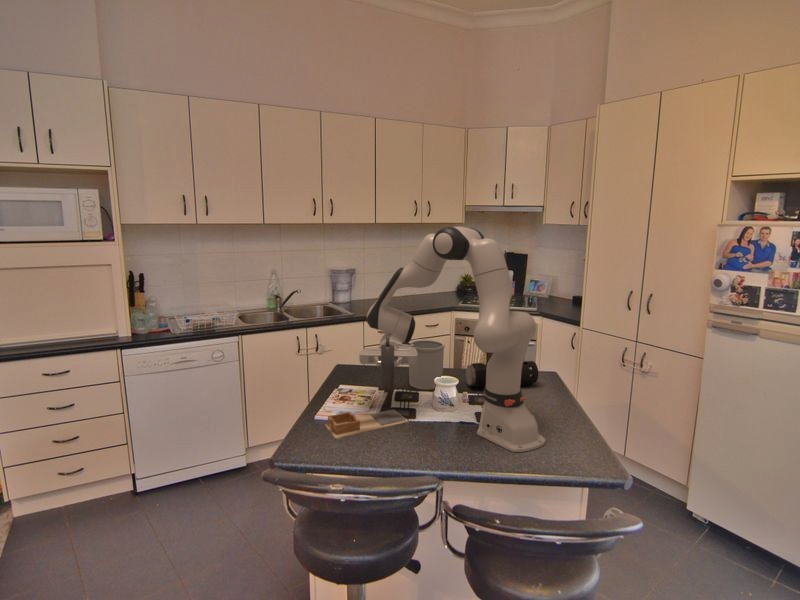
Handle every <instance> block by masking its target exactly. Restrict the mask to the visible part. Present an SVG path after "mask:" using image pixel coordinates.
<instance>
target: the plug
mask: <svg viewBox="0 0 800 600" xmlns="http://www.w3.org/2000/svg"><path fill="white" fill-rule="evenodd" d="M380 378H381V379H380V386H381V388H383V389H393V388H394V387H395V367H394V345H390V344H389V337H386V344H385V345H382V346H381V366H380Z"/></svg>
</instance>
